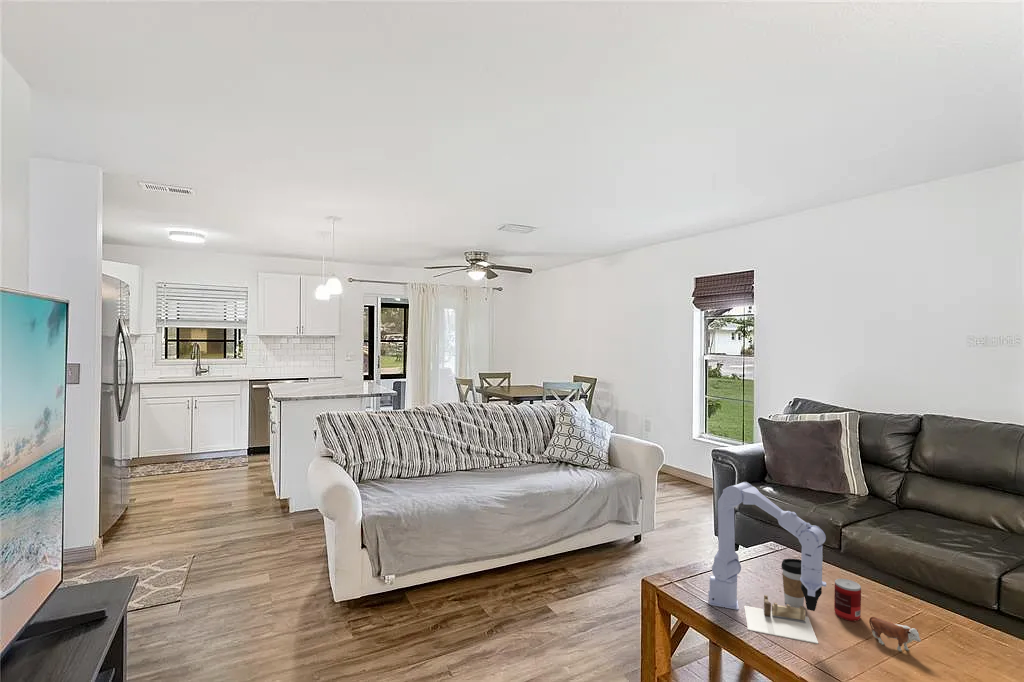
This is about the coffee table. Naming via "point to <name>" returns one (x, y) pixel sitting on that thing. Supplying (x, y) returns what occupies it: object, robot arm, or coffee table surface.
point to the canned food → (847, 599)
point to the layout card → (779, 625)
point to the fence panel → (788, 611)
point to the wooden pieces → (767, 606)
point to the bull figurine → (894, 632)
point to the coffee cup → (792, 582)
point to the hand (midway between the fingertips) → (810, 609)
